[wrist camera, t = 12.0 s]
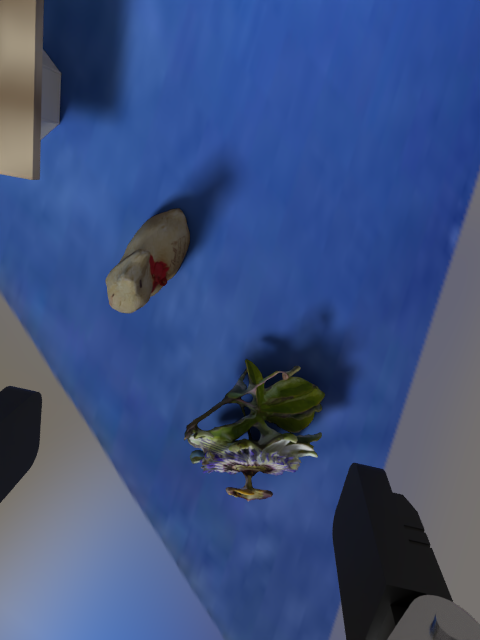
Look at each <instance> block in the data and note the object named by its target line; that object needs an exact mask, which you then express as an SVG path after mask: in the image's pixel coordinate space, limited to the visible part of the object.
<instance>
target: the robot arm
mask: <svg viewBox="0 0 480 640" xmlns="http://www.w3.org/2000/svg"><path fill="white" fill-rule="evenodd" d="M41 408H42V397H41V394H40V393H39V392H36V391H31V390H27V389H22V388H17V387H13V386H8V387H6V388H4V389H3V390H2V391H1V392H0V503H1V502H2V500H3V499H4V498H5V497H6V496H7V495H8V493H9V492H10V491H11V490H12V489H13V488H14V487H15V485H16V484H17V483H18V482H19V481H20V479H21V478H22V477H23V476H24V475H25V474H26V473H27V471H28V470H29V469H30V468H31V466H32V464H33V462H34V460H35V458H36V456H37V452H38V449H39V441H40V424H41ZM333 545H334V552H335V559H336V567H337V574H338V582H339V589H340V596H341V604H342V611H343V618H344V625H345V633H346V640H480V625H479V623H478V622H477V621H476V620H475V619H474V618H473V617H472V616H471V615H470V614H469V613H468V612H466V611H465V610H464V609H463V608H461V607H460V606H458V605H456V604H455V603H453V600H452V598H451V595H450V593H449V591H448V588H447V585H446V583H445V580H444V578H443V575H442V573H441V570H440V568H439V565H438V563H437V560H436V558H435V555H434V552H433V550H432V548H430V543H429V540H428V537H427V535H426V533H424V527H423V525H422V523H421V520H420V517H419V515H418V512H417V511H416V510H415V509H414V508H413V506H412V505H411V504H410V503H409V501H408V500H407V499H406V498H405V497H404V496H403V495H401V494H397V493H392V490H391V487H390V484H389V481H388V478H387V476H386V473H385V471H384V470H383V469H380V468H376V467H371V466H367V465H362V464H358V463H352V465H351V466H350V468H349V471H348V474H347V477H346V480H345V483H344V486H343V490H342V493H341V496H340V499H339V502H338V505H337V508H336V511H335V515H334V521H333Z"/></svg>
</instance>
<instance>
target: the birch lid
mask: <svg viewBox="0 0 480 640" xmlns="http://www.w3.org/2000/svg"><path fill="white" fill-rule="evenodd" d="M43 13H44V0H0V174H3V175H8V176H14V177H20V178H25V179H31V180H40V142H41V99H42V56H43Z"/></svg>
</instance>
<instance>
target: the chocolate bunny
mask: <svg viewBox="0 0 480 640" xmlns="http://www.w3.org/2000/svg"><path fill="white" fill-rule="evenodd" d="M189 243H190V233H189V229H188V226H187V221H186V217H185V215H184V214H183V212H182V211H181V210H180V209H171V210H169V211H167V212H164V213H160V214H157V215H155V216H153V217H151V218H150V219H149V220H147V221H146V222H145V223H144V224H143V225H142V227H141V228H140V229H139V230H138V231H137V233H136V234H135V235H134V237H133V238H132V240H131V241H130V243H129V244H128V246H127V249H126V251H125V254H124V256H123V257H122V259H121V261H120V263H119V264H117V265H116V266H115V267H114V268H113V269H112V270H111V271H110V273H109V274H108V276H107V278H106V285H107V292H108V298H109V304H110V306H111V307H112V308H113V309H115V310H117V311H119V312H122V313H132V312H134V311H136V310H138V309H139V308H141V307H143V306H144V305H145V304H146V303H147V302H148V301H149V299H150V296H153V295H155V294H156V293H157V292H158V291H159V290H160V289H161V288H162V287H163V286H165V285H166V284H167V281H168V280H169V279H171V278H172V277H173V276H174V275H175V274H176V273H177V271H178V269H179V268H180V265H181V263H182V262H183V259H184V257H185V255H186V252H187V250H188V247H189Z"/></svg>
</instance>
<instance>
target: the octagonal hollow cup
mask: <svg viewBox="0 0 480 640" xmlns="http://www.w3.org/2000/svg"><path fill="white" fill-rule="evenodd" d="M61 75H62V74H61V72H60V71H59V70H58V69H57V67H56V66H55V65H54V63H53V62H52V61H51V59H50V58H49V56H48V55H47V54H46V52H45V51H44V50H43V56H42V99H41V139H42V138H44V137H45V136H46V135H47V134H48V133H49V132H50V131H51V130H53V129H54V128H55V127H56V126H57V125H59V123H60V122H59V117H60V90H61Z"/></svg>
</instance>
